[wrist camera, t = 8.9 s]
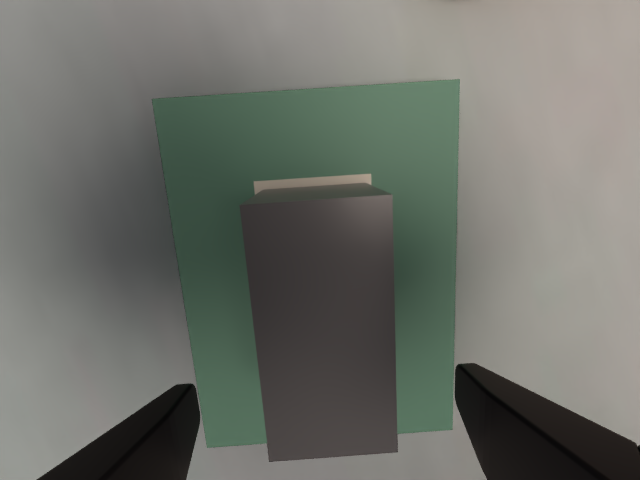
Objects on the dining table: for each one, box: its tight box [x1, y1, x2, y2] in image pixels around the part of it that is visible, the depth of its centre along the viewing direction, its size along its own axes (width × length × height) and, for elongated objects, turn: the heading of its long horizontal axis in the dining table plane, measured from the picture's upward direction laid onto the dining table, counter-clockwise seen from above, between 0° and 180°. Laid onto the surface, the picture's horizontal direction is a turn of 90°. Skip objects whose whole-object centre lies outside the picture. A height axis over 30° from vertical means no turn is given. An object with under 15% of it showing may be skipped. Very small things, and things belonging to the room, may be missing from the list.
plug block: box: [239, 183, 398, 462], centre depth 13 cm, size 8×4×5 cm, turn 4°
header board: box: [152, 79, 460, 448], centre depth 15 cm, size 16×12×4 cm
